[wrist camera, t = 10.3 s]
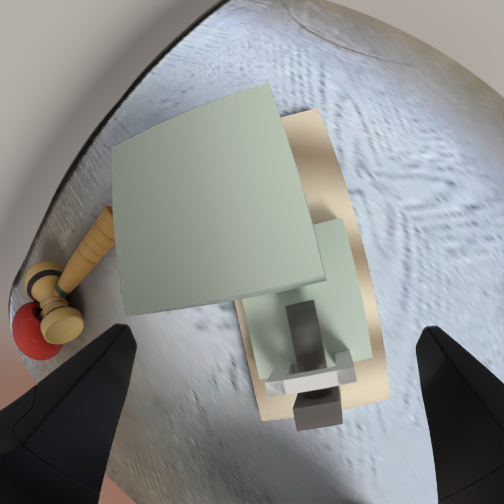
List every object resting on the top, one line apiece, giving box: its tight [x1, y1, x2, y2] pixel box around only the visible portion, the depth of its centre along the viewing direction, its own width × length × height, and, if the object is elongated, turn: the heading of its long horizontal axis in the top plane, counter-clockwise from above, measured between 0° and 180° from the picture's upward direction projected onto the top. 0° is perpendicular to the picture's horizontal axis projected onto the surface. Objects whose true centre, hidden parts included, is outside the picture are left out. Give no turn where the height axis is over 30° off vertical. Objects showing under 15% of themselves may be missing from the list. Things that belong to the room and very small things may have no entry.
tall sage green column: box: [111, 83, 373, 397], centre depth 11 cm, size 8×7×14 cm
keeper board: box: [235, 108, 390, 431], centre depth 17 cm, size 21×9×6 cm, turn 13°
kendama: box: [12, 206, 115, 360], centre depth 22 cm, size 8×6×18 cm
